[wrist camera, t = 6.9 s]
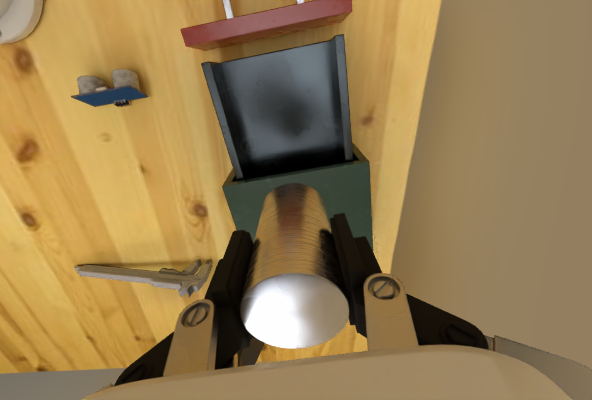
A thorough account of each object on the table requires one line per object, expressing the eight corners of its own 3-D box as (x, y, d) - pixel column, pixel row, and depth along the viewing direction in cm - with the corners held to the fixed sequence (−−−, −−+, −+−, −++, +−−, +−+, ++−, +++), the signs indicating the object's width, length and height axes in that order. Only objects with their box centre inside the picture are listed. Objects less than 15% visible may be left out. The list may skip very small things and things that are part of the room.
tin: (254, 188, 15) (224, 283, 8) (320, 177, 15) (344, 264, 8) (270, 242, 17) (255, 354, 10) (329, 232, 16) (354, 341, 10)
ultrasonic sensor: (149, 81, 27) (126, 65, 24) (153, 102, 27) (130, 89, 24) (97, 91, 28) (67, 76, 24) (101, 112, 28) (71, 100, 24)
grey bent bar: (212, 258, 37) (198, 291, 32) (213, 264, 38) (199, 297, 32) (76, 264, 37) (38, 298, 32) (79, 269, 38) (43, 304, 32)
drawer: (183, -21, 22) (156, -44, 18) (335, -56, 21) (346, -89, 17) (245, 190, 31) (238, 209, 27) (352, 172, 30) (362, 189, 26)
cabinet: (235, 164, 31) (221, 186, 25) (354, 143, 30) (369, 161, 24) (267, 271, 39) (262, 307, 33) (361, 257, 38) (374, 291, 32)
